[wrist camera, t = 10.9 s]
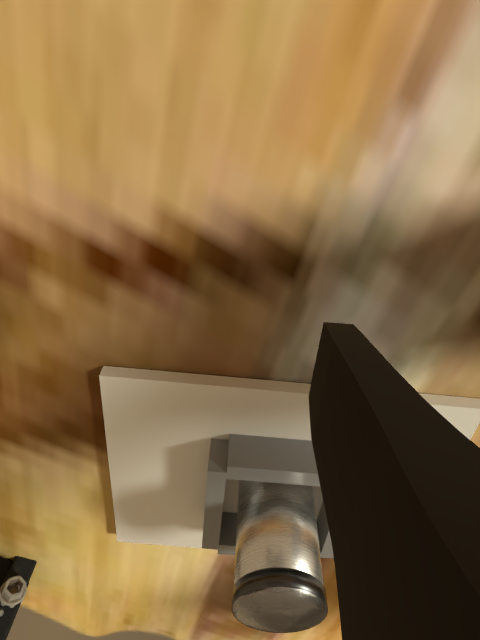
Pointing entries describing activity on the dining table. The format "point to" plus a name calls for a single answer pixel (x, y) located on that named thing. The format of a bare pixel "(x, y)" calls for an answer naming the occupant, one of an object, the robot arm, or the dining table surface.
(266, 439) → the mount plate
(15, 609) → the black camera
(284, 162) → the dining table surface
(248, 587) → the lens
